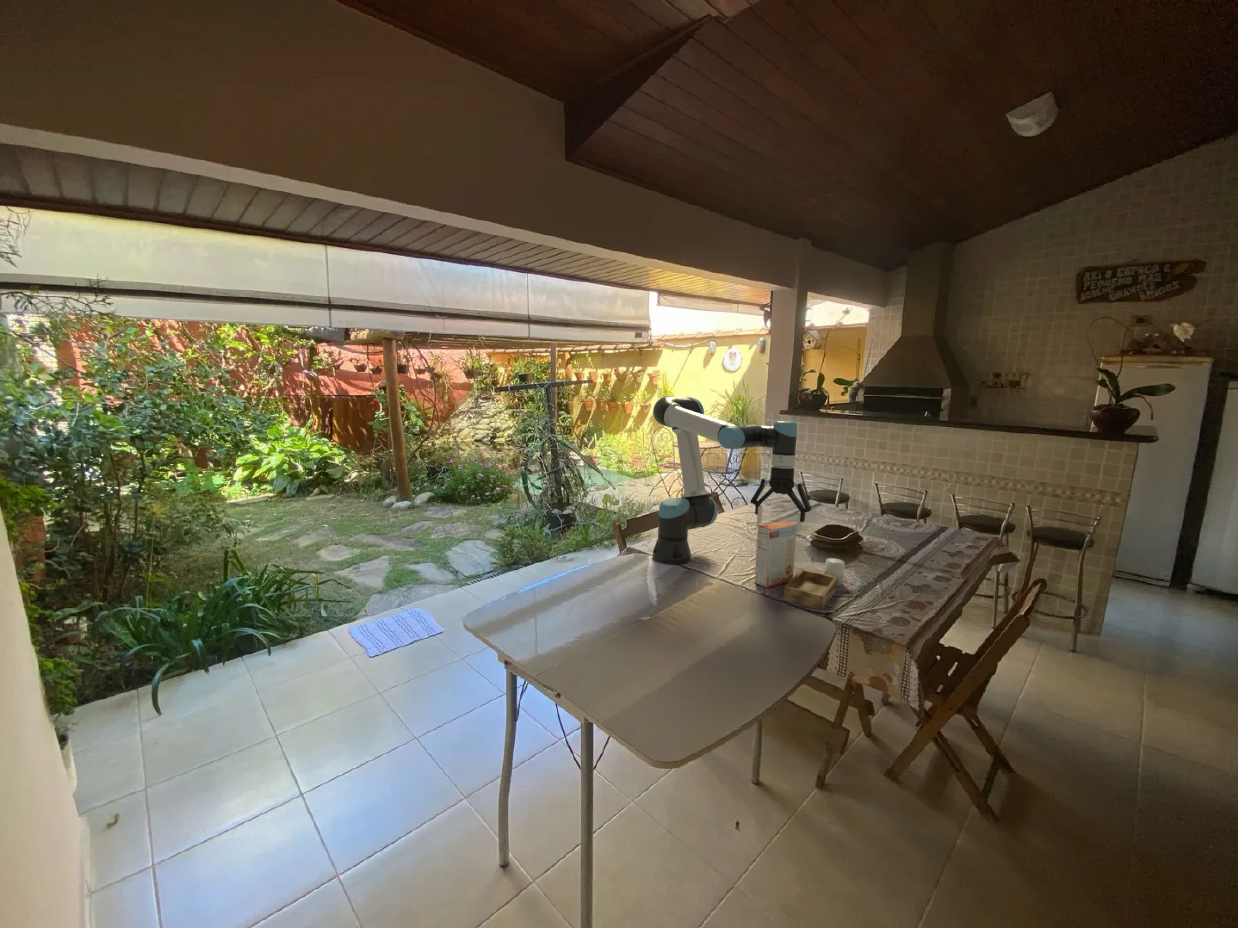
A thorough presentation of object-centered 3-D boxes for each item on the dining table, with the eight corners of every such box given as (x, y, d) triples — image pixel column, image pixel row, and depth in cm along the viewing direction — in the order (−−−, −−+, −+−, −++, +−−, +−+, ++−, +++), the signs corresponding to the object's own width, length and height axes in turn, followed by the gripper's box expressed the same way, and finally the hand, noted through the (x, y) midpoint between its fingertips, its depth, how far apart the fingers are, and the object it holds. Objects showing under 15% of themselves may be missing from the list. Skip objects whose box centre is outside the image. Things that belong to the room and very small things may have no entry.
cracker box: (779, 575, 177) (784, 520, 174) (793, 581, 172) (798, 524, 169) (752, 582, 170) (757, 524, 167) (766, 588, 165) (771, 529, 162)
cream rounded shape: (822, 583, 171) (824, 561, 170) (826, 578, 176) (828, 557, 175) (840, 587, 168) (842, 565, 166) (843, 582, 172) (846, 560, 171)
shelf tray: (783, 599, 156) (784, 586, 156) (800, 581, 172) (801, 569, 172) (822, 610, 149) (823, 596, 149) (836, 589, 165) (838, 577, 165)
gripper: (743, 464, 169) (740, 523, 172) (818, 472, 154) (813, 536, 158) (751, 462, 175) (747, 519, 178) (824, 469, 161) (819, 531, 164)
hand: (778, 527), depth 168 cm, fingers open, 13 cm apart
